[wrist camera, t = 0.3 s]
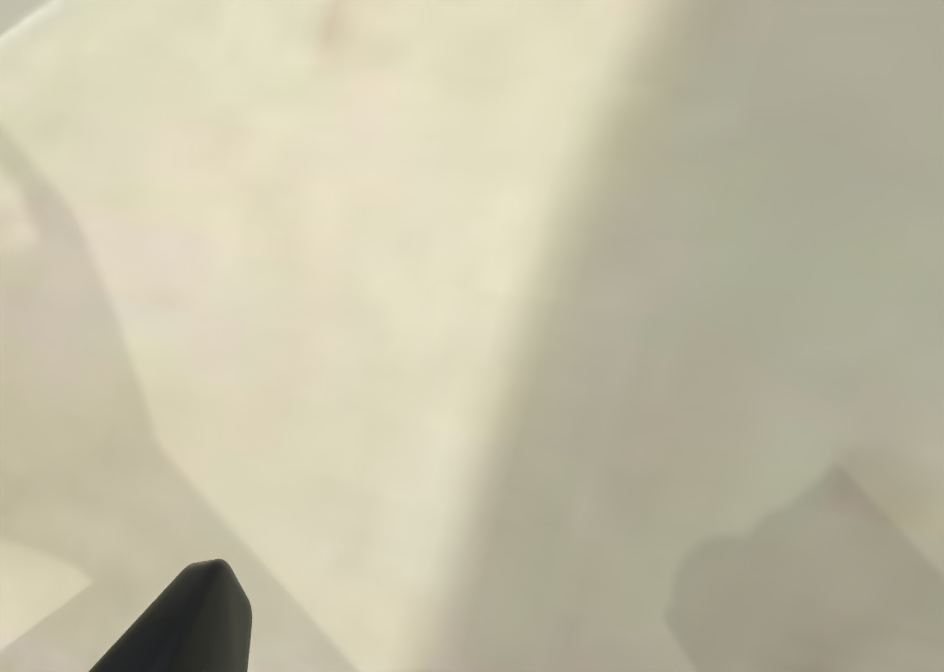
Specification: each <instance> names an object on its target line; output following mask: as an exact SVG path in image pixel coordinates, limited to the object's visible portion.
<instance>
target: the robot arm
mask: <svg viewBox="0 0 944 672" xmlns="http://www.w3.org/2000/svg"><path fill="white" fill-rule="evenodd" d="M251 628H252V610H251V605H250V602H249V600H248V598H247V596H246V594H245V592H244V590H243V589H242V587H241V585H240V583H239V581H238V579H237V578H236V576H235V574H234V572H233V570H232V569H231V567H230V565H229V564H228V563H227V562H226V561H224V560H223V559H215V560H209V561H203V562H197V563H193V564H190V565H189V566H187V567H186V568H185V569H184V570H183V571H182V572H181V573H180V574H179V575H178V576H177V577H176V578H175V579H174V580H173V581H172V582H171V583H170V585H169V586H168V587H167V588H166V589H165V590H164V591H163V592H162V593H161V594H160V595H159V596H158V597H157V599H156V600H155V601H154V602H153V603H152V604H151V605H150V606H149V607H148V608H147V609H146V610H145V611H144V613H143V614H142V615H141V616H140V617H139V618H138V619H137V620H136V621H135V622H134V623H133V624H132V625H131V627H130V628H129V629H128V630H127V631H126V632H125V633H124V634H123V635H122V636H121V637H120V638H119V640H118V641H117V642H116V643H115V644H114V645H113V646H112V647H111V648H110V649H109V650H108V651H107V652H106V654H105V655H104V656H103V657H102V658H101V659H100V660H99V661H98V662H97V663H96V664H95V665H94V666H93V668H92V669H91V670H90V671H89V672H247V668H248V658H249V648H250V638H251Z"/></svg>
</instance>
